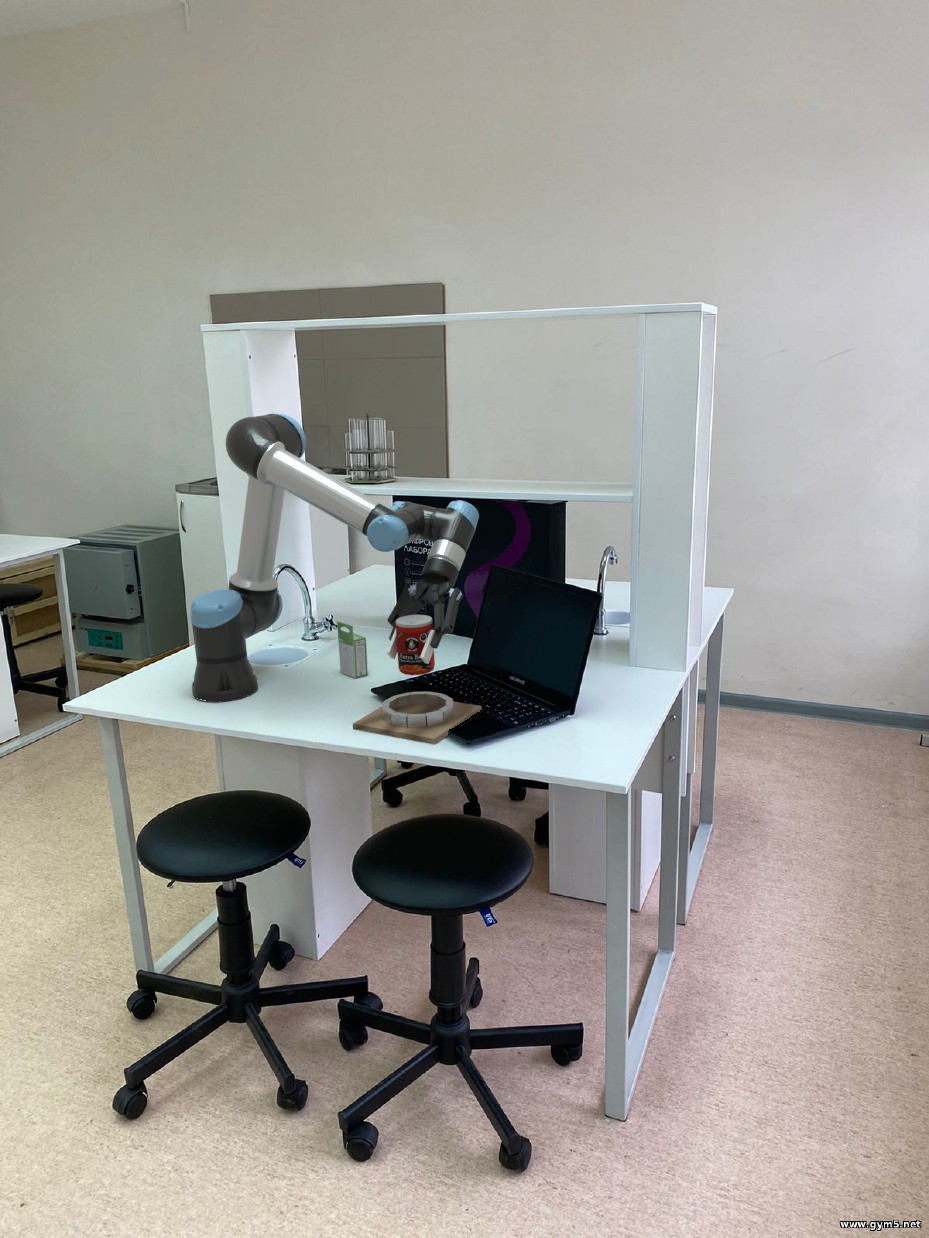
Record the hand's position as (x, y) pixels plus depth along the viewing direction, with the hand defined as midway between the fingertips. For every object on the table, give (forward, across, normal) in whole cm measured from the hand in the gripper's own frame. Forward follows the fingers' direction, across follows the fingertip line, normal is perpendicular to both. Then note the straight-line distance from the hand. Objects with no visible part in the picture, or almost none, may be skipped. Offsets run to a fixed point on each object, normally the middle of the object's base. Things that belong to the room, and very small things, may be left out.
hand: (407, 658), depth 196 cm
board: (+8, 0, -13) cm, 15 cm away
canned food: (0, 0, -5) cm, 5 cm away
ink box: (-6, +31, -27) cm, 42 cm away
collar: (+7, 0, -12) cm, 14 cm away
